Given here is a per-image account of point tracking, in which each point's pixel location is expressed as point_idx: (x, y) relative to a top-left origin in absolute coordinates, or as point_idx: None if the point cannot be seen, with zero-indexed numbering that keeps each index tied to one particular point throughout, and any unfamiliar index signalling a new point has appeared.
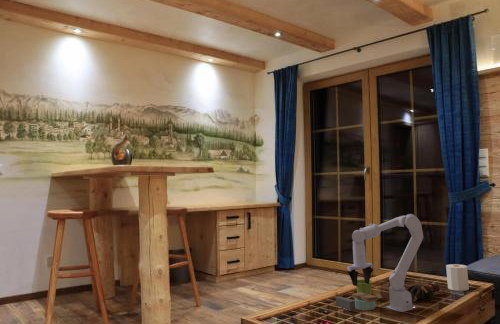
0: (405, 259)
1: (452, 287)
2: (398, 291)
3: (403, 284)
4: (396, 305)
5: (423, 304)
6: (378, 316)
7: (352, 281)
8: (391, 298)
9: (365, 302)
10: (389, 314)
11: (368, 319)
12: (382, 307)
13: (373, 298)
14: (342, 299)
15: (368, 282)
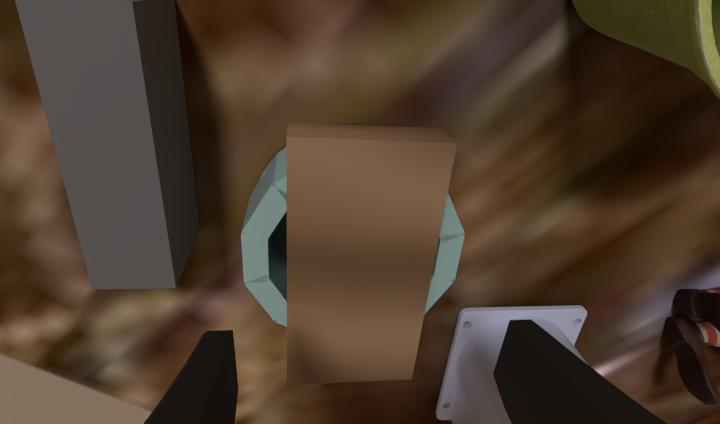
0: None
1: None
2: None
3: None
4: (465, 405)
5: (677, 372)
6: (253, 399)
7: (175, 398)
8: (485, 419)
9: (283, 319)
10: (345, 403)
11: (146, 409)
12: (452, 285)
13: (358, 374)
14: (60, 161)
15: (507, 395)
